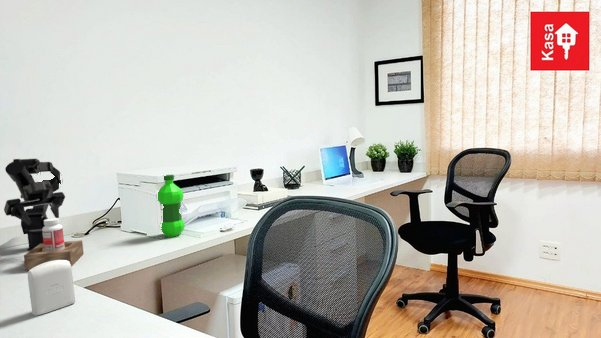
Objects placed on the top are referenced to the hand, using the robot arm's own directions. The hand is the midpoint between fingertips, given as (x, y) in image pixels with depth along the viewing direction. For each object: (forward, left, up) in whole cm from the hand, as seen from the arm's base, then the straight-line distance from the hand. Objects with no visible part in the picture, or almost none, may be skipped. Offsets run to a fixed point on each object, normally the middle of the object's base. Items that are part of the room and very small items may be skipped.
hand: (44, 221), depth 157 cm
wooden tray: (+4, -5, -13) cm, 15 cm away
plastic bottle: (+41, +19, -14) cm, 47 cm away
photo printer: (+17, -47, -14) cm, 52 cm away
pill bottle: (+4, -5, -10) cm, 12 cm away
